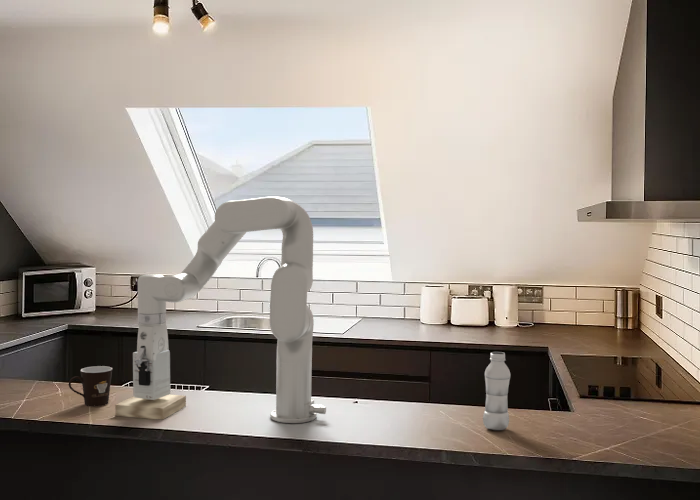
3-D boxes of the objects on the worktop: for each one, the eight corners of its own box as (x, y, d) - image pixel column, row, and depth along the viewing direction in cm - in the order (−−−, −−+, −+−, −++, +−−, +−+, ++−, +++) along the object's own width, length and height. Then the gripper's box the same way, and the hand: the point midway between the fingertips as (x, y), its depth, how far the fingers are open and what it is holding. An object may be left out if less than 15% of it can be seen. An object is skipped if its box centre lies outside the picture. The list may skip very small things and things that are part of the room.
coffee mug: (112, 399, 209) (112, 365, 209) (112, 406, 201) (112, 371, 201) (70, 401, 206) (70, 367, 205) (68, 409, 197) (68, 374, 197)
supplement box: (150, 391, 202) (149, 347, 201) (171, 394, 199) (170, 349, 198) (132, 397, 195) (131, 352, 195) (153, 400, 192) (153, 354, 192)
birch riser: (185, 406, 203) (185, 395, 202) (162, 419, 189) (162, 408, 189) (141, 402, 206) (141, 392, 205) (115, 415, 192) (115, 404, 192)
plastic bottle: (480, 425, 188) (482, 350, 187) (506, 426, 187) (508, 351, 187) (484, 432, 181) (486, 355, 180) (511, 433, 181) (513, 355, 180)
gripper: (149, 324, 187) (149, 389, 188) (178, 315, 204) (178, 375, 205) (123, 323, 188) (123, 388, 189) (154, 314, 205) (154, 374, 206)
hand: (152, 381), depth 197 cm, fingers closed on supplement box, 8 cm apart
